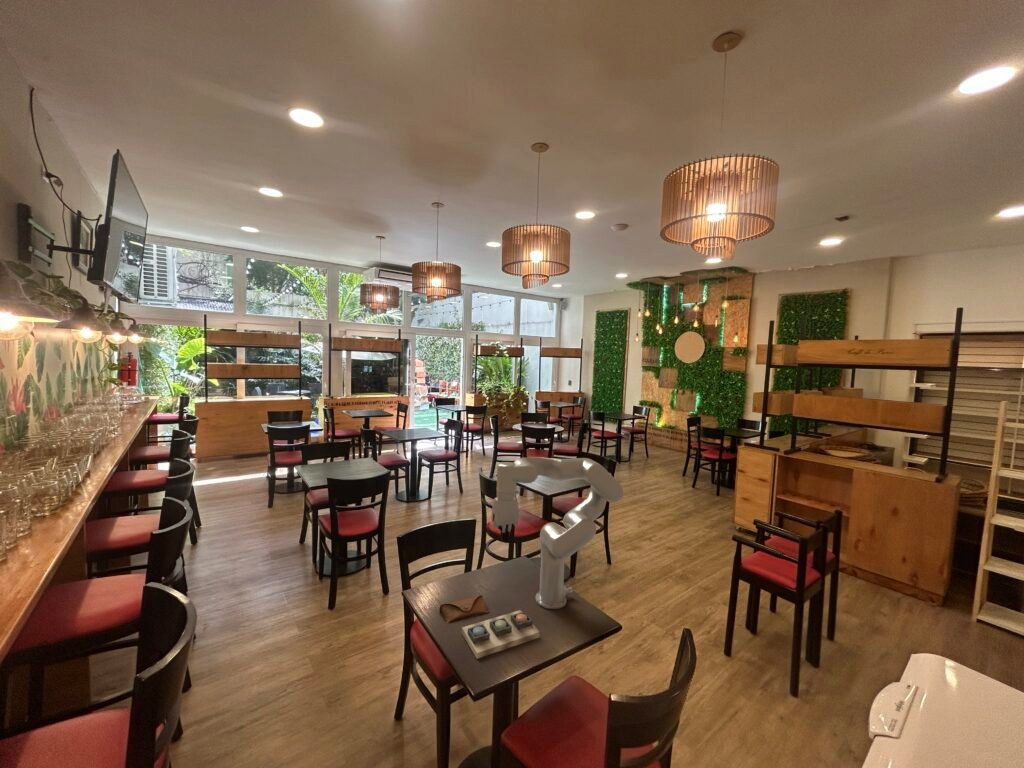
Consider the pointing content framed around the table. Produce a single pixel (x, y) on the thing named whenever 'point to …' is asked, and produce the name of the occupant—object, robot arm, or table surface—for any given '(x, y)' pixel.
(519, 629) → the button panel
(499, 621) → the sage button
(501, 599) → the table surface
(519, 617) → the terracotta button
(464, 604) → the sunglasses case
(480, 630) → the slate button
